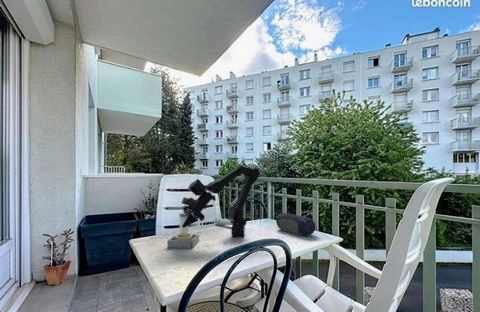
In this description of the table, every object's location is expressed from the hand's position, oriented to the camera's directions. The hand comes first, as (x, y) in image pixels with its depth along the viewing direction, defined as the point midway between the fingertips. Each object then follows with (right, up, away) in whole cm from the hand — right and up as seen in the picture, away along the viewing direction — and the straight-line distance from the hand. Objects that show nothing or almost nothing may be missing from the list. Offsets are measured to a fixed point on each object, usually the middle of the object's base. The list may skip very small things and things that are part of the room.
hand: (181, 226), depth 127 cm
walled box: (+1, -9, 0) cm, 9 cm away
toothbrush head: (+22, -11, +37) cm, 45 cm away
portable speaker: (+60, -10, +21) cm, 64 cm away
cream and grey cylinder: (+1, -7, 0) cm, 7 cm away
